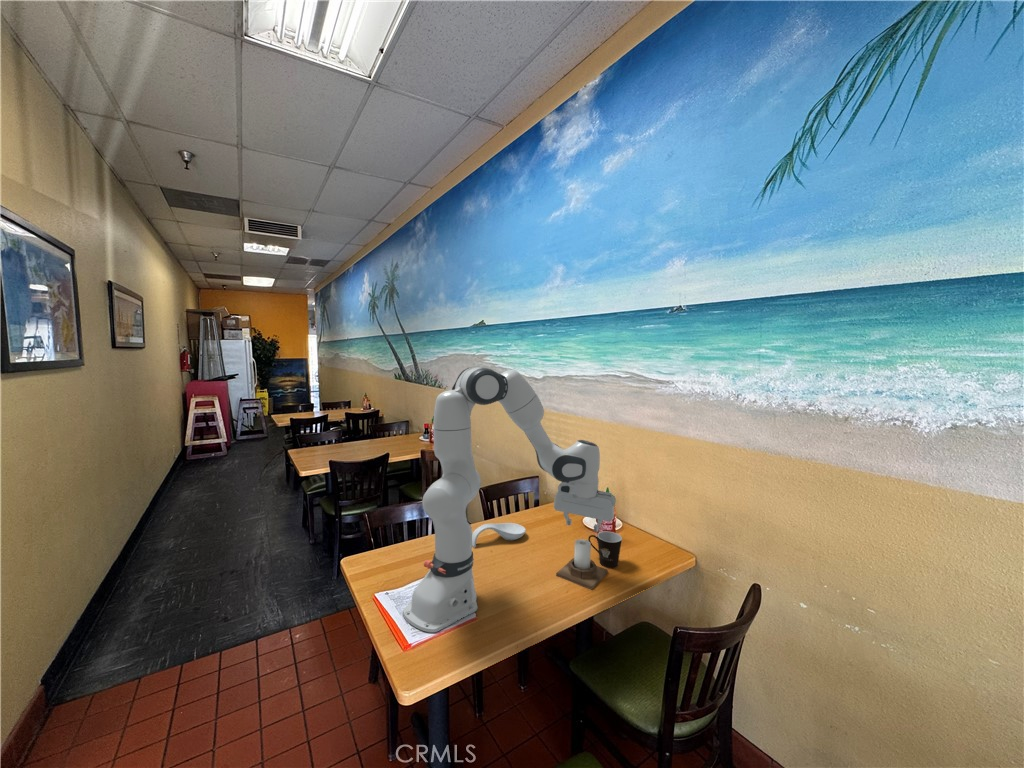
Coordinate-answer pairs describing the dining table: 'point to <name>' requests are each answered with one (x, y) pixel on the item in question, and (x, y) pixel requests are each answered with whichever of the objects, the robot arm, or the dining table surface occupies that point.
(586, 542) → the roll
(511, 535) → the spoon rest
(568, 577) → the holder
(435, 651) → the dining table surface
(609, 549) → the coffee mug
